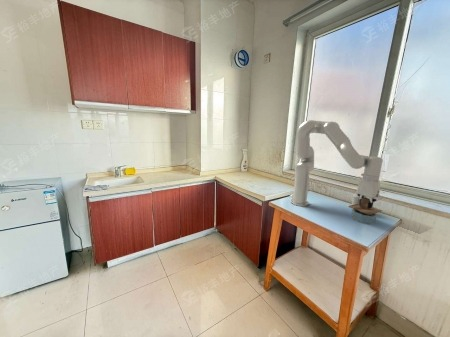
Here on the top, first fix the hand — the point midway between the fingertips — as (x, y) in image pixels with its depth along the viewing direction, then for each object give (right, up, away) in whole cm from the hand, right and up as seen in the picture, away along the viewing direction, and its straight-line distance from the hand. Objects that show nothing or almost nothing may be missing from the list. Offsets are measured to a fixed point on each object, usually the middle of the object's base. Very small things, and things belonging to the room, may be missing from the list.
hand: (365, 206), depth 115 cm
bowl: (0, -9, +2) cm, 9 cm away
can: (+6, -6, +15) cm, 17 cm away
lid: (0, -2, 0) cm, 2 cm away
